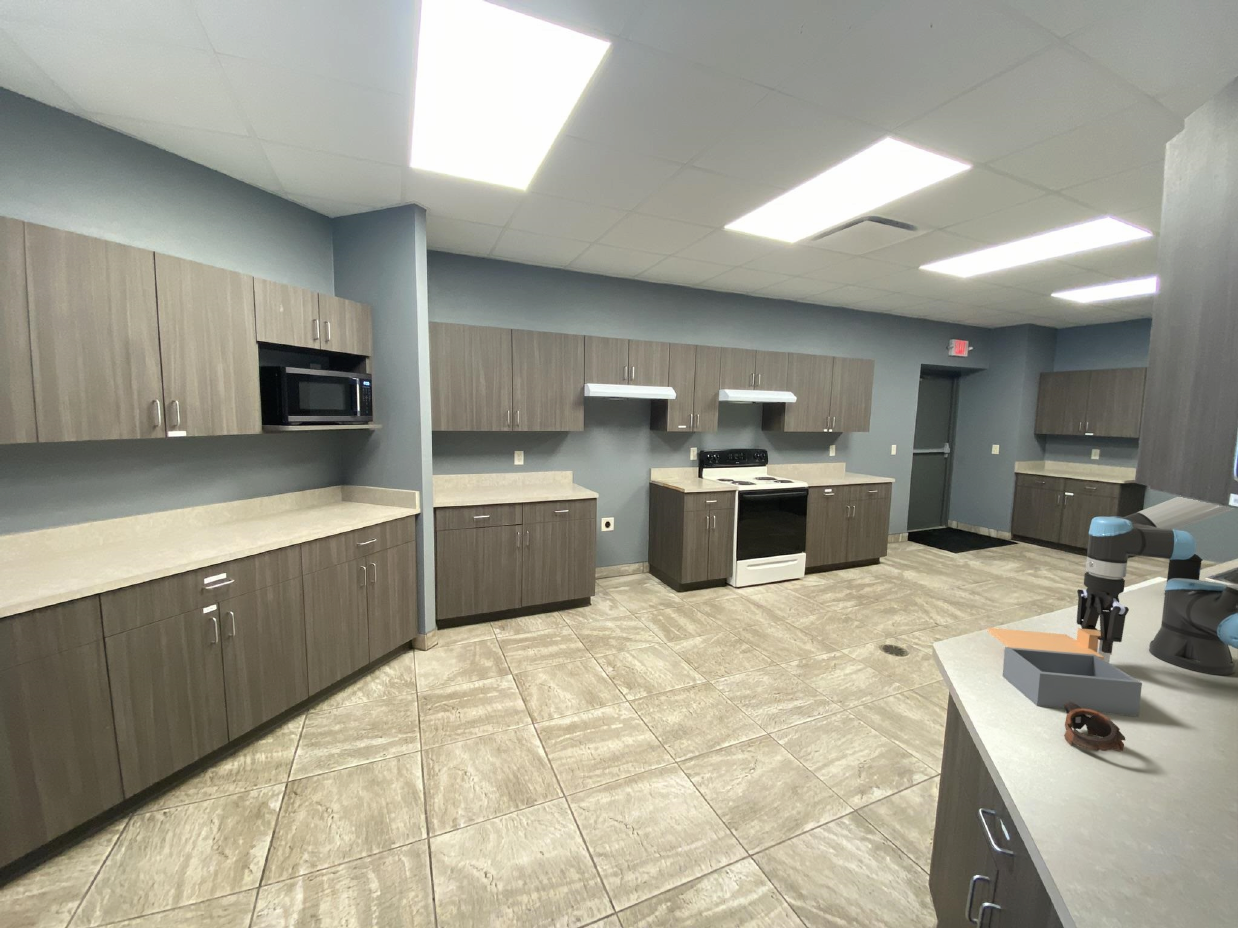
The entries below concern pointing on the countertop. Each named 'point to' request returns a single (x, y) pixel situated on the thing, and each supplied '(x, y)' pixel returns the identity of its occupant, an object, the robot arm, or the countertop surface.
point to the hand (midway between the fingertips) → (1094, 657)
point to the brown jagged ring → (1091, 729)
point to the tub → (1071, 681)
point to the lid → (1050, 640)
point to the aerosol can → (1185, 568)
